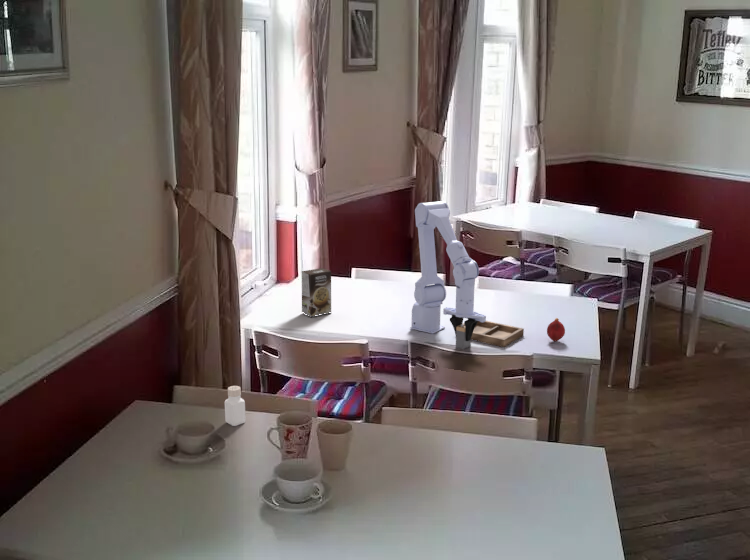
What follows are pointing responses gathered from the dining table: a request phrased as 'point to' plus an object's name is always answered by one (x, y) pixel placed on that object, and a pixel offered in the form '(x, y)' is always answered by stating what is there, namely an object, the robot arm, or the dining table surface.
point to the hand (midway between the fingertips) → (463, 339)
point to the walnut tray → (496, 333)
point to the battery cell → (461, 337)
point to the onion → (555, 330)
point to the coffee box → (316, 291)
